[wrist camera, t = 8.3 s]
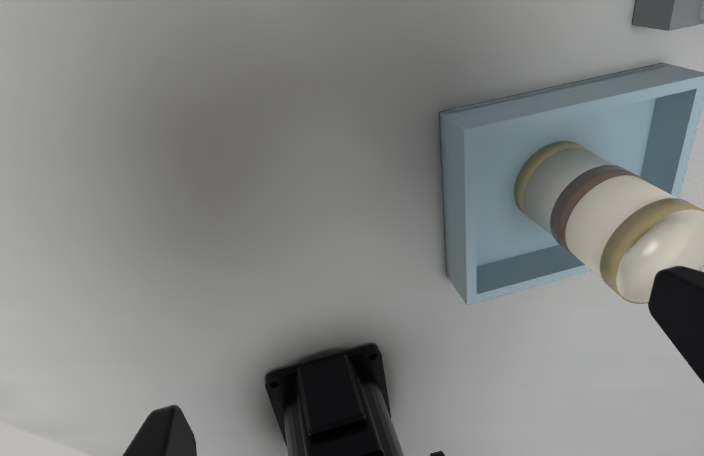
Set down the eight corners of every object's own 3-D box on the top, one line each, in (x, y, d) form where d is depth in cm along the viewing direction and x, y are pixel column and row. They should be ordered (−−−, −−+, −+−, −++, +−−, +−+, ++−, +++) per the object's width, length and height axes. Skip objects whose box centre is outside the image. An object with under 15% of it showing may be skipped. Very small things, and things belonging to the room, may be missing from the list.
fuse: (585, 207, 24) (701, 288, 18) (512, 226, 24) (607, 315, 18) (595, 132, 22) (730, 196, 16) (515, 151, 22) (624, 224, 16)
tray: (630, 226, 26) (665, 250, 24) (446, 275, 25) (466, 304, 23) (663, 62, 22) (710, 74, 20) (439, 111, 20) (464, 129, 18)
